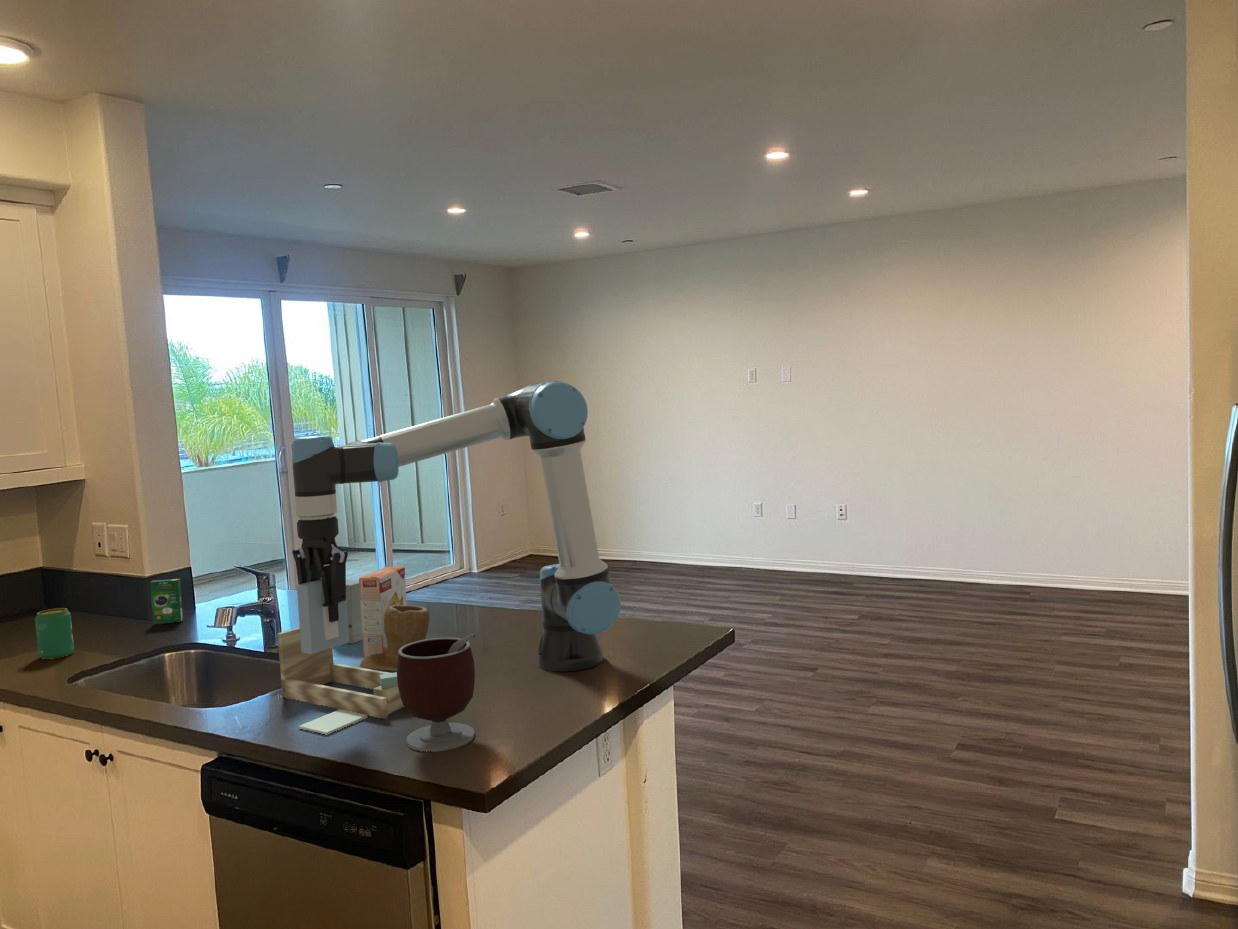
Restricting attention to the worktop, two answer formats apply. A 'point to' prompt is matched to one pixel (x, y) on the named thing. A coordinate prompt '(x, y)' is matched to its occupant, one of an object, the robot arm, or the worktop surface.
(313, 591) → the tall white upright block
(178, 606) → the coffee box
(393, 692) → the offcut pine
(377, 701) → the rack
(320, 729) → the pad
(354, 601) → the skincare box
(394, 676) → the offcut teal
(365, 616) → the cracker box
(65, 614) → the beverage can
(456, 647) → the mate gourd
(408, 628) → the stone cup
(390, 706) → the offcut oak
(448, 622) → the worktop surface
